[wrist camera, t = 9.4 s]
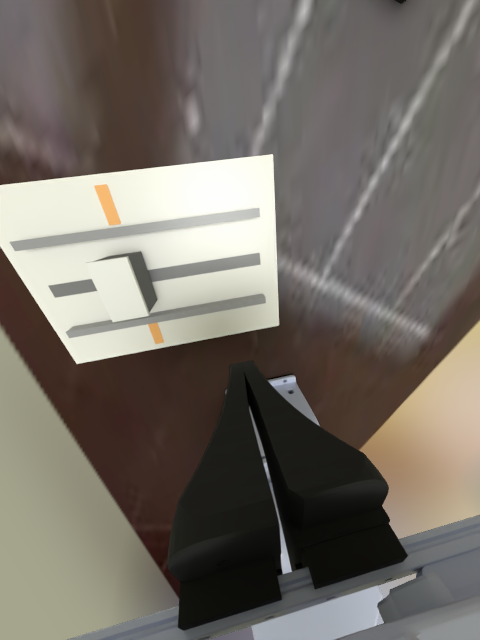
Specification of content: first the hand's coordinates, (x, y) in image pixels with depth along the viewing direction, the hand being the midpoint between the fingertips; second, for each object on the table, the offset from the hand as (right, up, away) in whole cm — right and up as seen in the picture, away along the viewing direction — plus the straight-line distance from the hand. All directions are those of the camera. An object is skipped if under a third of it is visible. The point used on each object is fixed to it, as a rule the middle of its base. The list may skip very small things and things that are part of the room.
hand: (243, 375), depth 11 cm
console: (-7, +8, +7) cm, 12 cm away
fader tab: (-9, +7, +4) cm, 12 cm away
